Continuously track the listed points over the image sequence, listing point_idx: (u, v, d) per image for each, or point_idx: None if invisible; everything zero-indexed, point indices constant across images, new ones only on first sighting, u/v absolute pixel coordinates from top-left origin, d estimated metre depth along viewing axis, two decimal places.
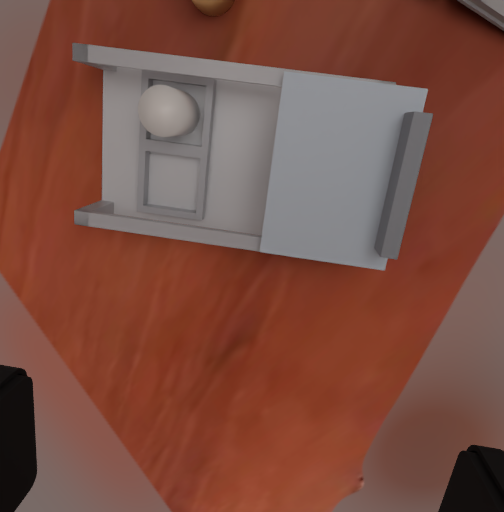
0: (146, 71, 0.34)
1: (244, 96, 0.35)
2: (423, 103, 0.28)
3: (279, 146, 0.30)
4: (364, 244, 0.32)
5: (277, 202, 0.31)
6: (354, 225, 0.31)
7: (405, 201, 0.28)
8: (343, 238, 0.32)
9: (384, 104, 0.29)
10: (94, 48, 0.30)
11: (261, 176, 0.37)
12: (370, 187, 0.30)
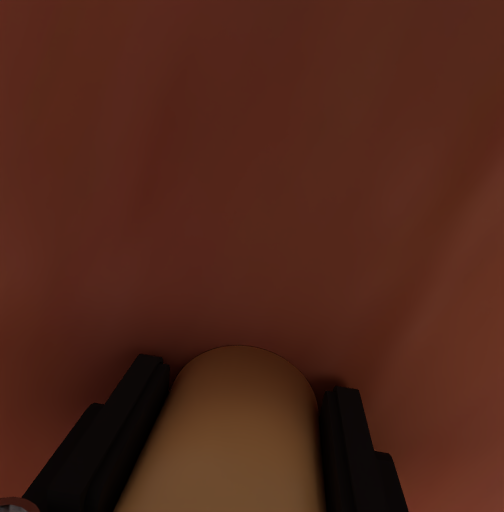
0: None
1: None
2: None
3: None
4: None
5: None
6: None
7: None
8: None
9: None
10: None
11: None
12: None
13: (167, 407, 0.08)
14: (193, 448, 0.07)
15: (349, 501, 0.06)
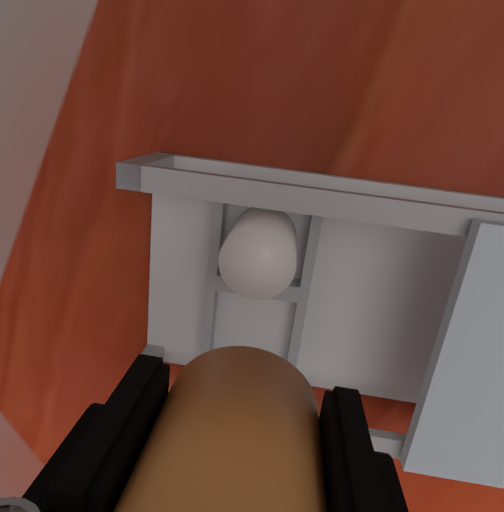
0: None
1: None
2: None
3: (456, 332, 0.18)
4: None
5: (441, 408, 0.20)
6: None
7: None
8: None
9: None
10: (152, 171, 0.19)
11: (382, 322, 0.25)
12: None
13: (167, 407, 0.08)
14: (193, 449, 0.07)
15: (349, 501, 0.06)
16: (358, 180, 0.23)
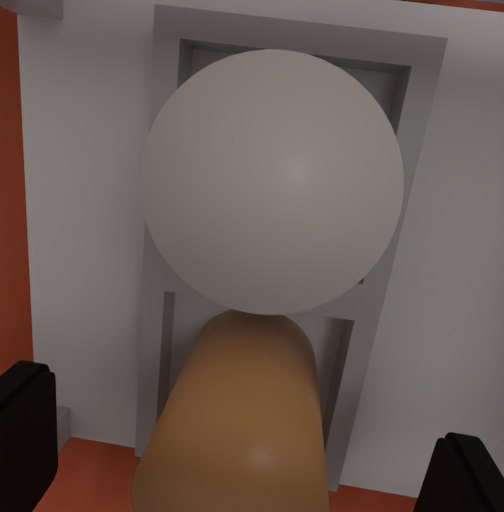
0: (172, 11, 0.09)
1: None
2: None
3: None
4: None
5: None
6: None
7: None
8: None
9: None
10: None
11: None
12: None
13: (195, 351, 0.11)
14: (220, 370, 0.09)
15: None
16: None
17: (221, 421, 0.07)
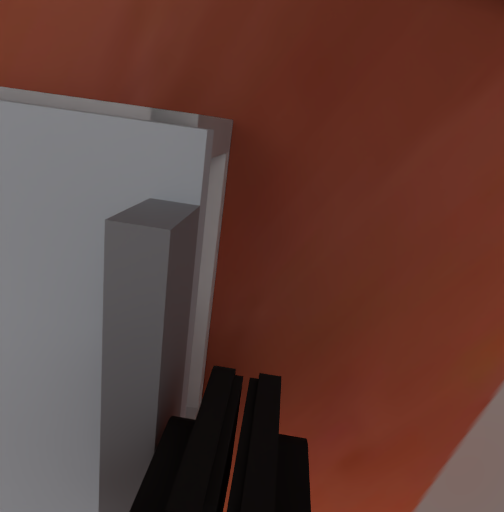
0: None
1: None
2: (199, 172, 0.09)
3: None
4: None
5: None
6: (75, 466, 0.12)
7: (134, 479, 0.09)
8: (55, 491, 0.13)
9: (88, 172, 0.09)
10: None
11: None
12: (95, 385, 0.11)
13: None
14: None
15: (239, 481, 0.07)
16: None
17: None
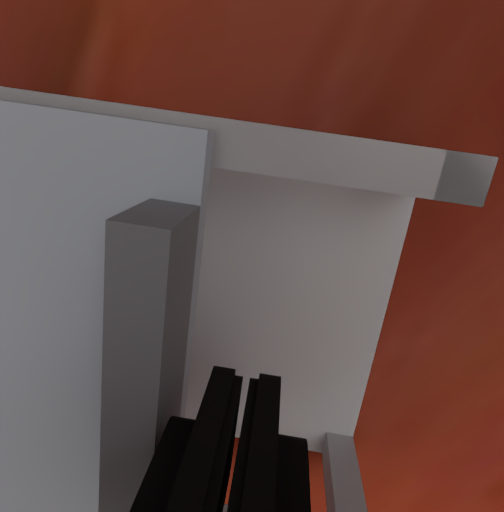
0: None
1: None
2: (200, 172, 0.09)
3: None
4: None
5: None
6: (74, 466, 0.12)
7: (134, 479, 0.09)
8: (55, 491, 0.13)
9: (88, 172, 0.09)
10: None
11: None
12: (95, 385, 0.11)
13: None
14: None
15: (240, 481, 0.07)
16: None
17: None
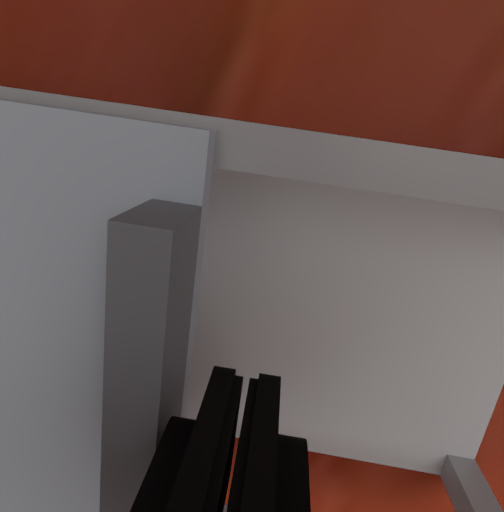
0: None
1: (258, 177, 0.15)
2: (202, 173, 0.09)
3: None
4: None
5: None
6: (75, 466, 0.12)
7: (135, 480, 0.09)
8: (56, 491, 0.13)
9: (90, 172, 0.09)
10: None
11: (291, 341, 0.17)
12: (96, 385, 0.11)
13: None
14: None
15: (239, 481, 0.07)
16: None
17: None
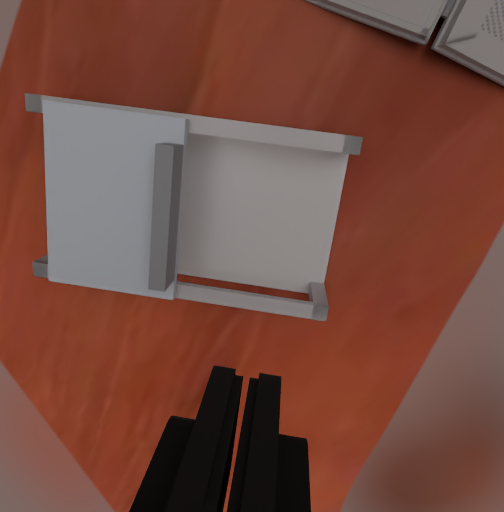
0: None
1: (211, 141, 0.34)
2: (183, 133, 0.28)
3: (50, 175, 0.29)
4: (149, 274, 0.31)
5: (57, 231, 0.31)
6: (136, 254, 0.31)
7: (162, 233, 0.27)
8: (127, 267, 0.31)
9: (145, 133, 0.28)
10: (48, 99, 0.29)
11: (230, 223, 0.36)
12: (145, 217, 0.30)
13: None
14: None
15: (239, 481, 0.07)
16: None
17: None
